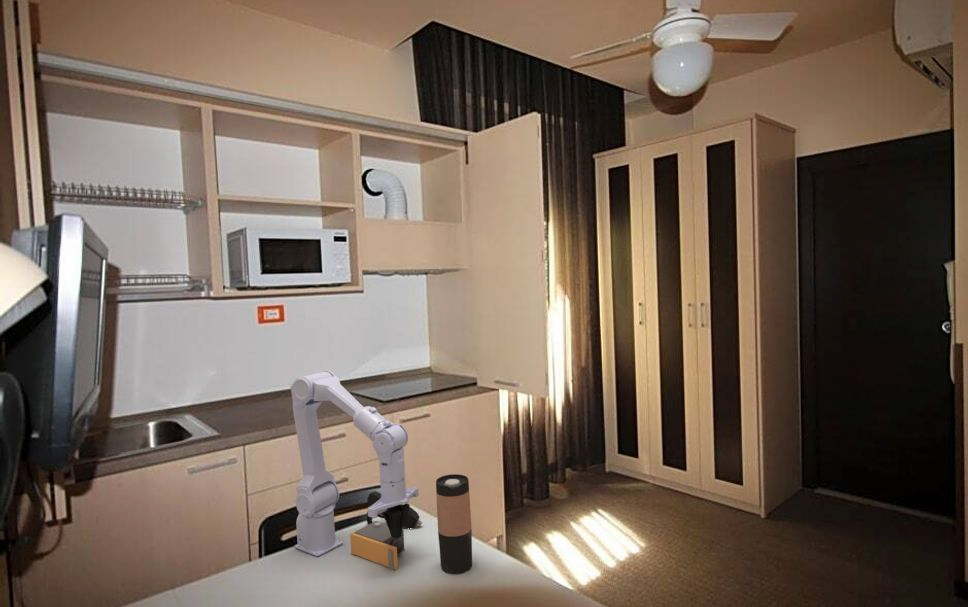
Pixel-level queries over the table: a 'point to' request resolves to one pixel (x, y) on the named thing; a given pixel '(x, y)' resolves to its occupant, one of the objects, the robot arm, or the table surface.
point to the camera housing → (382, 535)
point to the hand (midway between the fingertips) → (396, 536)
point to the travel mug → (454, 523)
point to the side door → (374, 550)
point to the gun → (373, 497)
